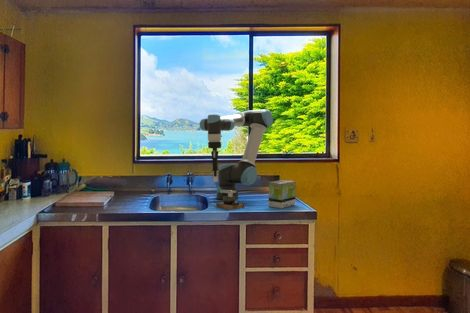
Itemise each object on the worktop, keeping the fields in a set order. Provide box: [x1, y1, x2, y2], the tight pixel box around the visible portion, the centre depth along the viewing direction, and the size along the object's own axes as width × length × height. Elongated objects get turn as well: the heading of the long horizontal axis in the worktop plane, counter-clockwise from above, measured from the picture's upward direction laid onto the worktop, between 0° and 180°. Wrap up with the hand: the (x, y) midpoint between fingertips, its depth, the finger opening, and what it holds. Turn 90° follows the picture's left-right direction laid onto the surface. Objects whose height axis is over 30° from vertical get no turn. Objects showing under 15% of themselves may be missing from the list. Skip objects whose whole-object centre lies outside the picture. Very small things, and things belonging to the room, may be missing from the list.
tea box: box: [268, 179, 297, 209], centre depth 210 cm, size 15×10×15 cm
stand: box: [215, 200, 246, 211], centre depth 207 cm, size 12×12×4 cm
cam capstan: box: [216, 186, 236, 204], centre depth 209 cm, size 12×7×8 cm, turn 57°
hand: (215, 181), depth 205 cm, fingers closed
